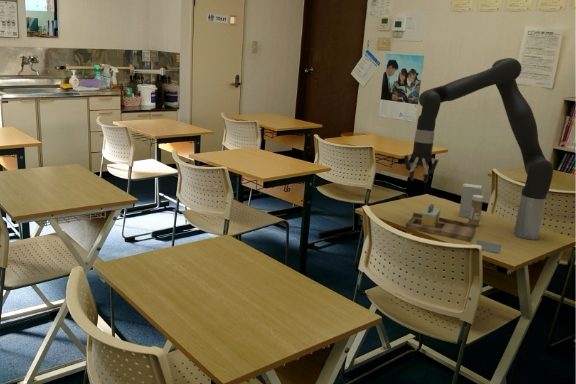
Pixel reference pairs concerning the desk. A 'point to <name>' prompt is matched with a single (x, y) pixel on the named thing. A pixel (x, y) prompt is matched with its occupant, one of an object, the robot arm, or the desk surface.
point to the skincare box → (468, 198)
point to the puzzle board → (444, 228)
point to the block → (428, 221)
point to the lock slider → (431, 212)
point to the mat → (489, 246)
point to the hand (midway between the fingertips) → (418, 181)
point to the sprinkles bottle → (476, 209)
